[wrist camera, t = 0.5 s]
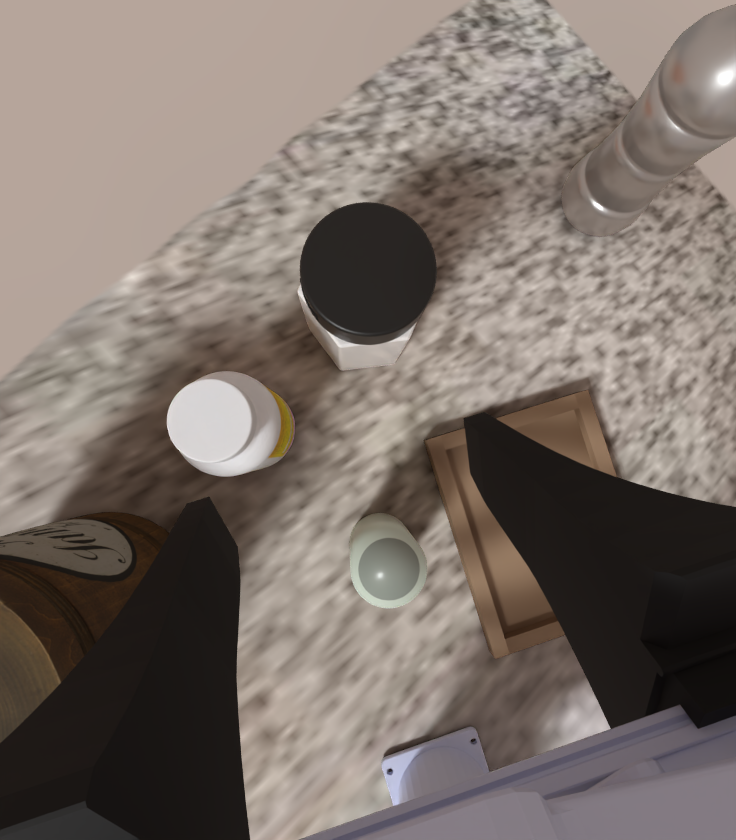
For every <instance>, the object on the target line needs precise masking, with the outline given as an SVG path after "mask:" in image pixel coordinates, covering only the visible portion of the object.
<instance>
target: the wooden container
mask: <svg viewBox="0 0 736 840" xmlns="http://www.w3.org/2000/svg"><path fill="white" fill-rule="evenodd" d="M169 534H170V533H168V532H167V531H166V530H164V529H163V528H162V527H160V526H158V525H157V524H155V523H153V522H151V521H149V520H147V519H144V518H142V517H139V516H135V515H131V514H126V513H116V512H104V513H96V514H90V515H85V516H80V517H76V518H72V519H68V520H64V521H59V522H54V523H50V524H46V525H42V526H37V527H33V528H30V529H26V530H22V531H19V532H15V533H12V534H8V535H5V536H1V537H0V743H1V742H2V741H3V740H4V739H5V738H6V737H7V736H9V735H10V734H11V733H12V732H13V731H14V730H15V729H16V728H17V727H18V726H19V725H20V724H21V723H22V722H23V721H24V720H25V719H26V718H27V717H28V716H29V715H30V714H31V713H32V712H33V711H34V710H35V709H36V708H37V707H38V706H39V705H40V704H41V703H42V702H43V701H44V700H45V699H46V698H47V697H48V696H49V695H50V694H51V693H52V692H53V691H54V690H55V689H56V687H57V686H58V685H59V684H60V683H61V682H62V681H63V680H64V679H65V678H66V676H67V675H68V674H69V673H70V672H71V671H72V670H73V668H74V667H75V666H76V665H77V664H78V663H79V662H80V660H81V659H82V658H83V657H84V656H85V655H86V654H87V653H88V651H89V650H90V649H91V648H92V647H93V646H94V644H95V643H96V642H97V641H98V639H99V638H100V637H101V636H102V634H103V633H104V632H105V630H106V629H107V628H108V627H109V625H110V624H111V623H112V622H113V620H114V619H115V618H116V616H117V615H118V613H119V612H120V611H121V609H122V608H123V607H124V605H125V604H126V602H127V601H128V599H129V598H130V596H131V595H132V593H133V592H134V590H135V589H136V587H137V586H138V584H139V583H140V581H141V580H142V578H143V577H144V575H145V574H146V572H147V571H148V569H149V568H150V566H151V564H152V563H153V561H154V559H155V558H156V556H157V554H158V553H159V551H160V549H161V548H162V546H163V544H164V542H165V541H166V539H167V537H168V536H169Z"/></svg>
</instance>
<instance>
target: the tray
mask: <svg viewBox="0 0 736 840" xmlns="http://www.w3.org/2000/svg"><path fill="white" fill-rule="evenodd" d="M496 419H497V420H499V421H501V422H502V423H504V424H506V425H508V426H509V427H511V428H513V429H514V430H516V431H518V432H520V433H521V434H523V435H525V436H527V437H529V438H530V439H532V440H534V441H536V442H538V443H540V444H542V445H543V446H545V447H547V448H549V449H551V450H553V451H555V452H557V453H559V454H562V455H564V456H566V457H568V458H570V459H572V460H575V461H577V462H579V463H581V464H584V465H586V466H589V467H591V468H594V469H596V470H599V471H602V472H604V473H607V474H609V475H612V476H615V477H617V476H616V473H615V470H614V467H613V464H612V461H611V458H610V455H609V452H608V449H607V445H606V442H605V439H604V436H603V433H602V430H601V427H600V424H599V421H598V418H597V415H596V412H595V409H594V406H593V403H592V400H591V397H590V394H589V391H588V390H585V391H581V392H577V393H574V394H571V395H567V396H564V397H561V398H558V399H555V400H551V401H548V402H545V403H542V404H539V405H535V406H532V407H529V408H526V409H523V410H519V411H516V412H513V413H510V414H507V415H503V416H500V417H497V418H496ZM424 443H425V447H426V450H427V453H428V456H429V459H430V463H431V466H432V469H433V472H434V475H435V478H436V482H437V485H438V488H439V491H440V494H441V498H442V501H443V504H444V507H445V510H446V514H447V517H448V520H449V523H450V526H451V529H452V533H453V536H454V539H455V542H456V545H457V549H458V552H459V555H460V558H461V561H462V565H463V568H464V571H465V574H466V577H467V580H468V584H469V587H470V590H471V593H472V596H473V600H474V603H475V606H476V609H477V612H478V616H479V619H480V622H481V625H482V628H483V632H484V635H485V638H486V641H487V644H488V647H489V651H490V652H491V654H492V655H493V656H494V658H495V659H497V658H500V657H503V656H506V655H509V654H512V653H515V652H517V651H520V650H523V649H526V648H529V647H532V646H535V645H538V644H540V643H543V642H546V641H549V640H552V639H555V638H558V637H561V636H563V635H565V633H564V631H563V629H562V627H561V626H560V624H559V622H558V620H557V618H556V616H555V614H554V612H553V610H552V608H551V606H550V605H549V603H548V601H547V599H546V597H545V595H544V593H543V592H542V590H541V588H540V586H539V584H538V582H537V581H536V579H535V577H534V576H533V574H532V572H531V571H530V569H529V567H528V566H527V564H526V563H525V561H524V560H523V558H522V557H521V555H520V554H519V553H518V551H517V550H516V548H515V547H514V545H513V544H512V542H511V541H510V539H509V538H508V536H507V535H506V533H505V532H504V531H503V529H502V528H501V526H500V525H499V523H498V522H497V520H496V519H495V517H494V516H493V514H492V513H491V511H490V510H489V508H488V507H487V505H486V504H485V502H484V500H483V498H482V496H481V494H480V492H479V490H478V488H477V486H476V484H475V482H474V480H473V478H472V476H471V474H470V468H469V460H468V451H467V443H466V434H465V428H462V429H458V430H455V431H452V432H449V433H446V434H442V435H439V436H436V437H433V438H430V439H426V440H424Z"/></svg>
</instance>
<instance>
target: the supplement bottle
mask: <svg viewBox="0 0 736 840" xmlns="http://www.w3.org/2000/svg"><path fill="white" fill-rule="evenodd" d="M167 428H168V432H169V436H170V438H171V440H172V442H173V444H174V445H175V446H176V448H177V449H178V450H179V451H180V453H181V454H182V455H183V457H184V458H185V459H186V460H187V461H188V462H189V463H190V464H191V465H192V466H194V467H195V468H197V469H198V470H200V471H202V472H205V473H207V474H210V475H215V476H222V477H227V476H236V475H241V474H245V473H248V472H252V471H256V470H259V469H264V468H266V467H269V466H271V465H273V464H275V463H277V462H278V461H279V460H281V459H282V458H283V457H284V456H285V455H286V453H287V452H288V450H289V449H290V447H291V445H292V443H293V440H294V435H295V421H294V417H293V414H292V411H291V409H290V408H289V406H288V405H287V403H286V402H285V401H284V400H283V399H282V398H281V397H280V396H279V395H277V394H276V393H275V392H273V391H272V390H270V389H269V388H267V387H266V386H265V385H263V384H262V383H260V382H259V381H258V380H256V379H254V378H252V377H250V376H248V375H246V374H243V373H239V372H233V371H221V372H215V373H211V374H208V375H205V376H203V377H201V378H199V379H197V380H196V381H194V382H192V383H190V384H188V385H187V386H185V387H184V388H183V389H181V390H180V391H179V392H178V393H177V395H176V396H175V397H174V399H173V400H172V402H171V404H170V407H169V410H168V414H167Z"/></svg>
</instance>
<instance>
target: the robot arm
mask: <svg viewBox="0 0 736 840" xmlns="http://www.w3.org/2000/svg"><path fill="white" fill-rule="evenodd" d="M464 426H465V434H466V443H467V451H468V460H469V468H470V474H471V476H472V478H473V480H474V482H475V484H476V486H477V488H478V490H479V492H480V494H481V496H482V498H483V500H484V502H485V504H486V505H487V507H488V508H489V510H490V511H491V513H492V514H493V516H494V517H495V519H496V520H497V522H498V523H499V525H500V526H501V528H502V529H503V531H504V532H505V533H506V535H507V536H508V538H509V539H510V541H511V542H512V544H513V545H514V547H515V548H516V550H517V551H518V553H519V554H520V555H521V557H522V558H523V560H524V561H525V563H526V564H527V566H528V567H529V569H530V571H531V572H532V574H533V576H534V577H535V579H536V581H537V582H538V584H539V586H540V588H541V590H542V592H543V593H544V595H545V597H546V599H547V601H548V603H549V605H550V606H551V608H552V610H553V612H554V614H555V616H556V618H557V620H558V622H559V624H560V626H561V627H562V629H563V631H564V633H565V635H566V637H567V639H568V641H569V643H570V645H571V647H572V649H573V651H574V653H575V655H576V657H577V659H578V661H579V663H580V665H581V667H582V669H583V671H584V673H585V675H586V677H587V679H588V681H589V683H590V685H591V687H592V690H593V692H594V694H595V696H596V698H597V700H598V702H599V704H600V707H601V709H602V711H603V713H604V715H605V717H606V719H607V721H608V724H609V726H610V728H611V729H610V730H607V731H604V732H601V733H598V734H596V735H593V736H590V737H587V738H584V739H581V740H579V741H576V742H573V743H570V744H567V745H565V746H562V747H559V748H556V749H553V750H550V751H548V752H545V753H542V754H539V755H536V756H533V757H531V758H528V759H525V760H522V761H519V762H517V763H514V764H511V765H508V766H505V767H502V768H500V769H497V770H494V771H491V772H489V769H488V765H487V762H486V759H485V756H484V753H483V749H482V746H481V743H480V740H479V736H478V733H477V731H476V729H475V728H474V727H467V728H464V729H461V730H459V731H456V732H453V733H450V734H447V735H445V736H442V737H439V738H436V739H433V740H430V741H428V742H425V743H422V744H419V745H416V746H414V747H411V748H408V749H405V750H402V751H400V752H397V753H394V754H391V755H388V756H386V757H384V758H383V759H382V762H381V763H382V769H383V772H384V776H385V779H386V782H387V786H388V789H389V792H390V796H391V799H392V802H393V806H392V807H390V808H387V809H384V810H381V811H378V812H375V813H373V814H370V815H367V816H364V817H361V818H359V819H356V820H353V821H350V822H347V823H344V824H342V825H339V826H336V827H333V828H330V829H327V830H325V831H322V832H319V833H316V834H313V835H311V836H308V837H305V838H302V839H299V840H736V507H732V506H726V505H720V504H715V503H710V502H705V501H701V500H696V499H692V498H688V497H683V496H679V495H675V494H671V493H667V492H663V491H660V490H656V489H653V488H649V487H646V486H643V485H639V484H636V483H633V482H630V481H627V480H624V479H621V478H618V477H615V476H612V475H609V474H607V473H604V472H602V471H599V470H596V469H594V468H591V467H589V466H586V465H584V464H581V463H579V462H577V461H575V460H572V459H570V458H568V457H566V456H564V455H562V454H559V453H557V452H555V451H553V450H551V449H549V448H547V447H545V446H543V445H542V444H540V443H538V442H536V441H534V440H532V439H530V438H529V437H527V436H525V435H523V434H521V433H520V432H518V431H516V430H514V429H513V428H511V427H509V426H508V425H506V424H504V423H502V422H501V421H499V420H497V419H496V418H494V417H492V416H491V415H489V414H487V413H485V412H483V413H480V414H477V415H473V416H470V417H467V418H464ZM239 605H240V567H239V557H238V547H237V545H236V543H235V541H234V540H233V538H232V536H231V534H230V532H229V531H228V529H227V527H226V525H225V524H224V522H223V520H222V518H221V517H220V515H219V513H218V511H217V510H216V508H215V506H214V504H213V503H212V501H211V499H210V497H207V498H204V499H201V500H197V501H194V502H191V503H188V504H187V505H186V506H185V508H184V510H183V511H182V513H181V515H180V516H179V518H178V520H177V522H176V523H175V525H174V527H173V529H172V530H171V532H170V534H169V536H168V537H167V539H166V541H165V542H164V544H163V546H162V548H161V549H160V551H159V553H158V554H157V556H156V558H155V559H154V561H153V563H152V564H151V566H150V568H149V569H148V571H147V572H146V574H145V575H144V577H143V578H142V580H141V581H140V583H139V584H138V586H137V587H136V589H135V590H134V592H133V593H132V595H131V596H130V598H129V599H128V601H127V602H126V604H125V605H124V607H123V608H122V609H121V611H120V612H119V613H118V615H117V616H116V618H115V619H114V620H113V622H112V623H111V624H110V625H109V627H108V628H107V629H106V630H105V632H104V633H103V634H102V636H101V637H100V638H99V639H98V641H97V642H96V643H95V644H94V646H93V647H92V648H91V649H90V650H89V651H88V653H87V654H86V655H85V656H84V657H83V658H82V659H81V660H80V662H79V663H78V664H77V665H76V666H75V667H74V668H73V670H72V671H71V672H70V673H69V674H68V675H67V676H66V678H65V679H64V680H63V681H62V682H61V683H60V684H59V685H58V686H57V687H56V689H55V690H54V691H53V692H52V693H51V694H50V695H49V696H48V697H47V698H46V699H45V700H44V701H43V702H42V703H41V704H40V705H39V706H38V707H37V708H36V709H35V710H34V711H33V712H32V713H31V714H30V715H29V716H28V717H27V718H26V719H25V720H24V721H23V722H22V723H21V724H20V725H19V726H18V727H17V728H16V729H15V730H14V731H13V732H12V733H11V734H10V735H9V736H7V737H6V738H5V739H4V740H3V741H2V742H1V743H0V840H250V835H249V827H248V818H247V810H246V801H245V790H244V780H243V769H242V759H241V746H240V732H239V718H238V699H237V680H236V673H237V644H238V625H239ZM473 738H475V739H476V740H475V741H474V742H470V741H471V739H473ZM389 768H391V769H392V771H391V772H388V771H387V769H389Z"/></svg>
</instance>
